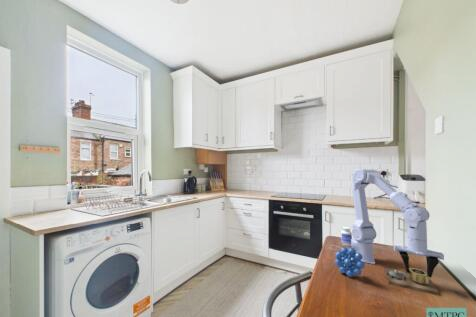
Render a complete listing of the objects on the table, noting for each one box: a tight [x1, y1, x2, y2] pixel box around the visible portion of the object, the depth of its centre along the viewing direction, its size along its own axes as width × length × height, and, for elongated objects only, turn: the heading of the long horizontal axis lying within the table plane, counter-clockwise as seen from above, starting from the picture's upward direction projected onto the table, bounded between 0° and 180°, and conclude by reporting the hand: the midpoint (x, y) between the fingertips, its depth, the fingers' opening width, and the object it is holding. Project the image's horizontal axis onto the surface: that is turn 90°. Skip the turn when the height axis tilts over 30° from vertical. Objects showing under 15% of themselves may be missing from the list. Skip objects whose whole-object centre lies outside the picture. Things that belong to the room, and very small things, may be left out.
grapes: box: [334, 246, 366, 278], centre depth 83 cm, size 12×7×12 cm, turn 39°
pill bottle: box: [340, 226, 353, 247], centre depth 118 cm, size 5×5×10 cm
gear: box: [408, 267, 430, 284], centre depth 78 cm, size 6×7×3 cm
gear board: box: [383, 267, 439, 296], centre depth 79 cm, size 14×12×4 cm
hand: (418, 273), depth 78 cm, fingers open, 6 cm apart
